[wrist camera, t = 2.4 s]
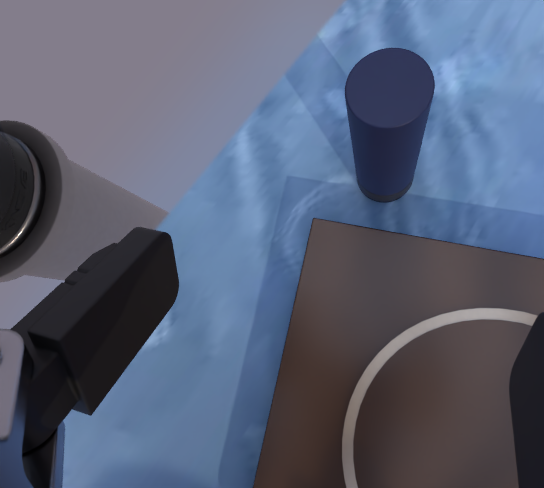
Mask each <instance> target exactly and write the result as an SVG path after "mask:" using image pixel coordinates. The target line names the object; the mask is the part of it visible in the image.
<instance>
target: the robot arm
mask: <svg viewBox="0 0 544 488" xmlns="http://www.w3.org/2000/svg"><path fill="white" fill-rule="evenodd" d="M45 192H46V181H45V174H44V170H43V166H42V164H41V161H40V159H39V158H38V156H37V154H36V153H35V152H34V150H33V149H32V148H31V147H30V146H28V145H27V144H26V143H24V142H23V141H21V140H19V139H17V138H15V137H13V136H11V135H9V134H7V133H4V132H0V258H2V257H4V256H6V255H8V254H10V253H11V252H13V251H14V250H15V249H16V248H18V247H19V246H20V245H21V244H22V243H23V242H24V241H25V240H26V238H27V237H28V236H29V235H30V233H31V232H32V230H33V229H34V227H35V225H36V223H37V221H38V219H39V217H40V214H41V212H42V209H43V205H44V200H45ZM178 289H179V279H178V273H177V267H176V262H175V256H174V250H173V244H172V239H171V236H170V235H169V234H168V233H166V232H161V231H156V230H152V229H147V228H142V227H136V228H134V229H133V230H132V231H131V232H130V233H128V234H127V235H126V236H125V237H124V238H123V239H122V240H121V241H120V242H119V243H118V244H117V243H113V244H111V245H109V246H107V247H105V248H103V249H101V250H99V251H98V252H96V253H94V254H92V255H91V256H90V257H89V258H88V259H87V260H86V261H85V262H84V263H83V264H82V265H80V266H79V267H78V270H77V271H74V272H73V273H72V274H71V275H69V276H68V277H67V278H66V279H65V282H64V283H61V284H60V285H59V286H57V287H56V288H55V289H54V290H53V291H52V292H51V293H50V294H49V295H48V296H47V297H46V298H45V299H43V300H42V301H41V302H40V303H39V304H38V305H37V306H36V307H35V308H33V310H31V311H30V312H29V313H28V314H27V315H26V316H25V317H24V318H23V319H22V320H20V321H19V322H18V323H17V324H16V325H15V326H14V327H13V328H11V329H10V330H9V329H0V488H62V481H63V460H64V440H65V425H64V421H63V420H64V418H65V417H66V416H67V415H68V413H69V412H70V411H71V409H73V410H76V411H79V412H82V413H85V414H88V415H90V416H91V415H92V414H93V412H94V411H95V410H96V408H97V407H98V406H99V404H100V403H101V402H102V400H103V399H104V398H105V396H106V395H107V393H108V392H109V391H110V389H111V388H112V387H113V385H114V384H115V383H116V381H117V380H118V379H119V377H120V376H121V375H122V373H123V372H124V371H125V369H126V368H127V366H128V365H129V364H130V362H131V361H132V360H133V358H134V357H135V356H136V354H137V353H138V352H139V350H140V349H141V348H142V346H143V345H144V344H145V342H146V341H147V339H148V338H149V337H150V335H151V334H152V333H153V331H154V330H155V329H156V327H157V326H158V325H159V323H160V322H161V321H162V319H163V318H164V317H165V315H166V314H167V312H168V311H169V310H170V308H171V307H172V306H173V304H174V302H175V300H176V297H177V294H178ZM509 397H510V407H511V416H512V426H513V435H514V445H515V455H516V464H517V474H518V484H519V488H544V312H542V313H540V314H539V315H538V316H537V318H536V320H535V322H534V324H533V326H532V328H531V330H530V332H529V334H528V336H527V338H526V340H525V342H524V344H523V346H522V348H521V350H520V352H519V354H518V356H517V358H516V360H515V362H514V364H513V367H512V370H511V375H510V382H509Z"/></svg>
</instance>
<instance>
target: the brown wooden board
mask: <svg viewBox="0 0 544 488" xmlns="http://www.w3.org/2000/svg"><path fill="white" fill-rule="evenodd" d="M542 312H544V259H541V258H536V257H530V256H525V255H519V254H513V253H508V252H502V251H496V250H491V249H485V248H480V247H474V246H468V245H463V244H457V243H452V242H446V241H440V240H435V239H429V238H424V237H418V236H412V235H407V234H401V233H396V232H390V231H384V230H379V229H373V228H367V227H362V226H356V225H351V224H345V223H339V222H334V221H328V220H323V219H317V218H313V221H312V225H311V230H310V234H309V239H308V243H307V248H306V252H305V257H304V261H303V266H302V270H301V275H300V279H299V284H298V288H297V293H296V297H295V301H294V306H293V310H292V315H291V319H290V324H289V328H288V333H287V337H286V342H285V346H284V351H283V355H282V360H281V364H280V369H279V373H278V378H277V382H276V387H275V391H274V396H273V400H272V405H271V409H270V413H269V418H268V422H267V427H266V431H265V436H264V440H263V445H262V449H261V454H260V458H259V463H258V467H257V472H256V476H255V481H254V485H253V488H519V484H518V474H517V464H516V455H515V445H514V435H513V426H512V416H511V407H510V397H509V382H510V375H511V370H512V367H513V364H514V362H515V360H516V358H517V356H518V354H519V352H520V350H521V348H522V346H523V344H524V342H525V340H526V338H527V336H528V334H529V332H530V330H531V328H532V326H533V324H534V322H535V320H536V318H537V316H538V315H539V314H540V313H542Z"/></svg>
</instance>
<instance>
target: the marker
mask: <svg viewBox="0 0 544 488" xmlns="http://www.w3.org/2000/svg"><path fill="white" fill-rule="evenodd" d="M434 88H435V83H434V76H433V73H432V71H431V69H430V67H429V65H428V64H427V63H426V62H425V61H424V59H423V58H421V57H420V56H419V55H417V54H415V53H414V52H411V51H409V50H406V49H401V48H386V49H381V50H378V51H375V52H373V53H370V54H368V55H367V56H365V57H364V58H363V59H361V60H360V61H359V62H358V63H357V64H356V65H355V66H354V68H353V69H352V70H351V72H350V74H349V76H348V78H347V81H346V85H345V99H346V106H347V113H348V120H349V127H350V133H351V140H352V147H353V154H354V161H355V168H356V175H357V182H358V185H359V188H360V189H361V191H362V192H363V193H364V194H365V195H366V196H367V197H368V198H370V199H372V200H375V201H378V202H390V201H394V200H396V199H398V198H400V197H402V196H403V195H404V194H405V193H406V192H407V191H408V190H409V188H410V186H411V184H412V181H413V177H414V172H415V168H416V164H417V160H418V156H419V152H420V148H421V144H422V139H423V135H424V131H425V127H426V123H427V119H428V115H429V111H430V106H431V102H432V98H433V94H434Z"/></svg>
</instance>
